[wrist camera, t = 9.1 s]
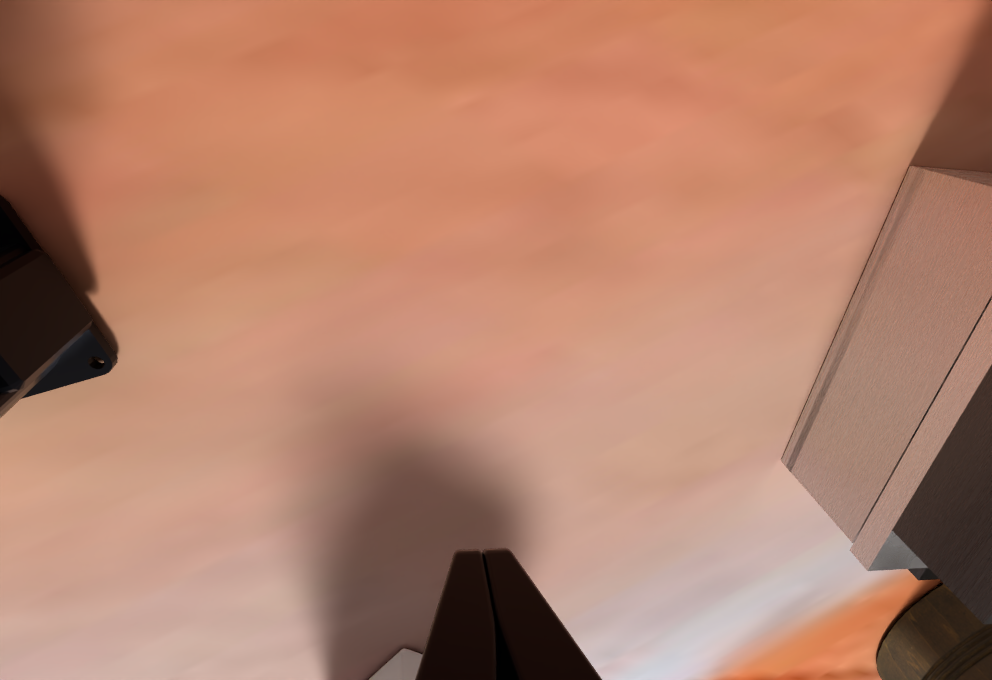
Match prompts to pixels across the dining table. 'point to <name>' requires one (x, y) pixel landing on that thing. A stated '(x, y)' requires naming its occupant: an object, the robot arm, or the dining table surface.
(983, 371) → the lid
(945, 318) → the grey recessed tray
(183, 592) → the dining table surface
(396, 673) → the milk carton
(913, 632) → the apothecary jar
